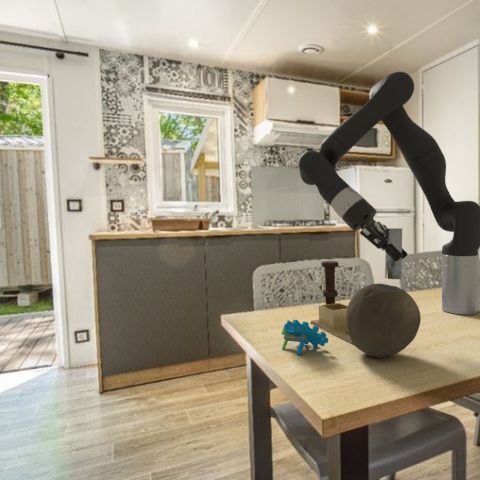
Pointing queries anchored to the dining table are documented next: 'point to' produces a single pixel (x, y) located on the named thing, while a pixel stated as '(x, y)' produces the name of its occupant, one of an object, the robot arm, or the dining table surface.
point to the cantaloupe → (382, 320)
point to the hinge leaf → (333, 320)
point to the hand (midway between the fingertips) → (402, 257)
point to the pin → (391, 266)
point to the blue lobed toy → (302, 335)
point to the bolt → (330, 281)
